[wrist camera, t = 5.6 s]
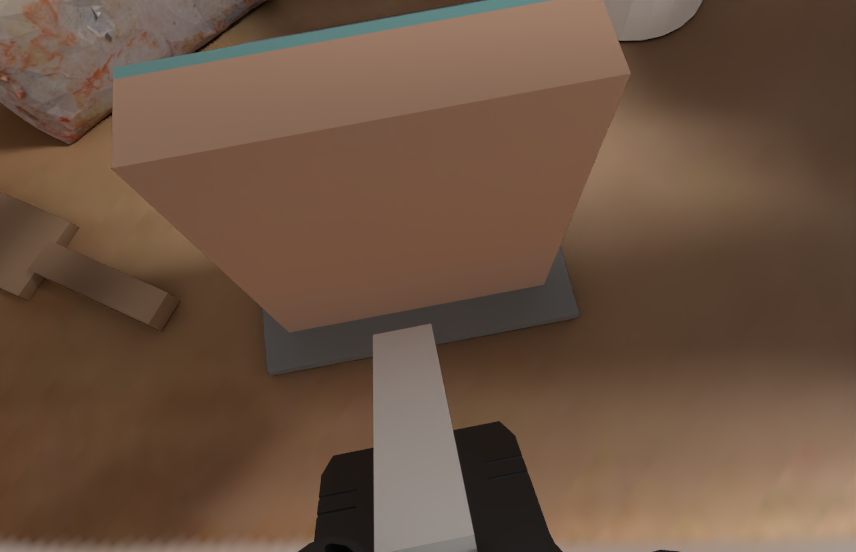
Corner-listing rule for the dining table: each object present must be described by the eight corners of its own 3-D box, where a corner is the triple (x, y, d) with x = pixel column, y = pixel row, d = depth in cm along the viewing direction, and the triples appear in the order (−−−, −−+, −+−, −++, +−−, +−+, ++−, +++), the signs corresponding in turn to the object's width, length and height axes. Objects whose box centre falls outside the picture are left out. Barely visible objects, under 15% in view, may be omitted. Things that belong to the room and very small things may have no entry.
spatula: (194, 277, 24) (183, 268, 23) (146, 356, 23) (132, 350, 22) (-8, 190, 26) (-26, 179, 25) (-61, 258, 25) (-82, 249, 24)
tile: (543, 284, 22) (630, 73, 11) (289, 332, 22) (111, 168, 11) (528, 229, 23) (595, -19, 12) (283, 275, 23) (112, 67, 12)
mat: (576, 318, 22) (579, 313, 22) (271, 375, 22) (266, 372, 21) (488, 8, 28) (488, -2, 27) (245, 52, 28) (241, 43, 27)
